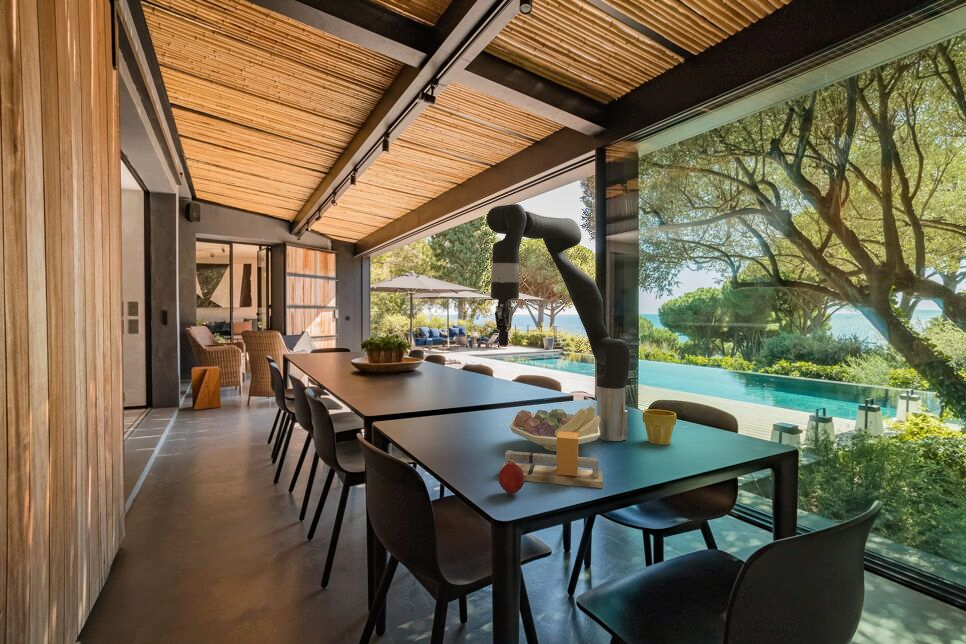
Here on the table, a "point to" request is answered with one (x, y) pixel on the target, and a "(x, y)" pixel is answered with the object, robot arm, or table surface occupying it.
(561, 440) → the upright wooden block
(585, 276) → the robot arm
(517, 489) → the onion
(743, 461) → the table surface
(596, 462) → the pipe
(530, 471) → the board
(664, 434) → the plant pot
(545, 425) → the dish with food
